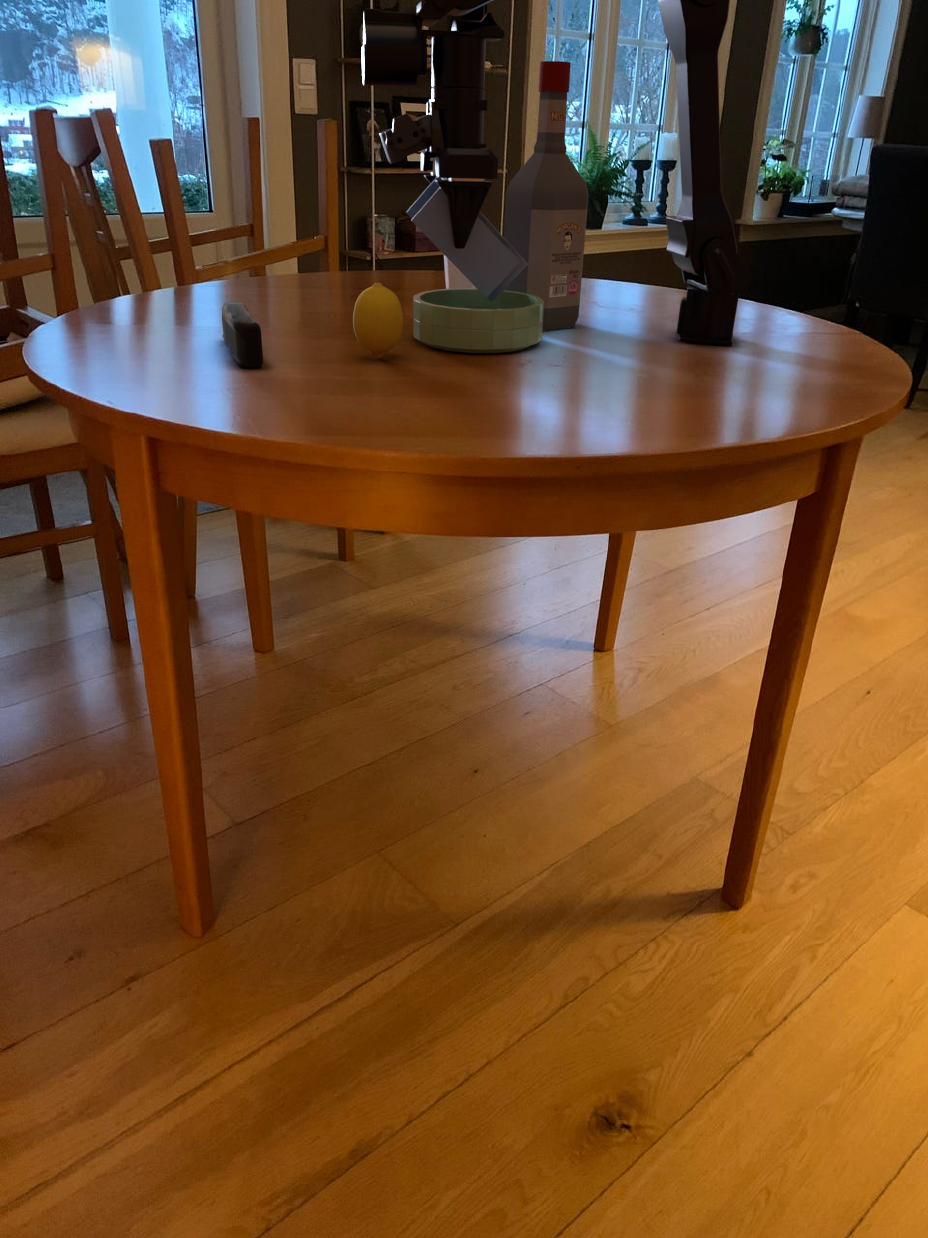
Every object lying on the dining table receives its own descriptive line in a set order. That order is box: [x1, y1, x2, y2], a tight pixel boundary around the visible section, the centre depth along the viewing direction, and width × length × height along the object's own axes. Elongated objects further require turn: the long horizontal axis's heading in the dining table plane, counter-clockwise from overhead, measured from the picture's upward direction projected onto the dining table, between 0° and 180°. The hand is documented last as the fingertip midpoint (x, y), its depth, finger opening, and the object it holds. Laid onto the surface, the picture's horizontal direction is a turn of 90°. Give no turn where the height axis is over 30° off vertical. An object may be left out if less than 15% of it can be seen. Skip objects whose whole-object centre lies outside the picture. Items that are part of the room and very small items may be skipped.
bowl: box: [412, 288, 544, 354], centre depth 109 cm, size 16×16×5 cm
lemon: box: [352, 282, 404, 359], centre depth 99 cm, size 6×6×8 cm
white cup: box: [443, 254, 476, 289], centre depth 130 cm, size 7×7×7 cm
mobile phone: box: [221, 301, 264, 368], centre depth 99 cm, size 5×3×15 cm
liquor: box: [503, 60, 590, 332], centre depth 113 cm, size 9×9×30 cm
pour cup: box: [405, 177, 528, 303], centre depth 104 cm, size 6×6×13 cm
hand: (455, 244), depth 104 cm, fingers closed on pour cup, 7 cm apart
